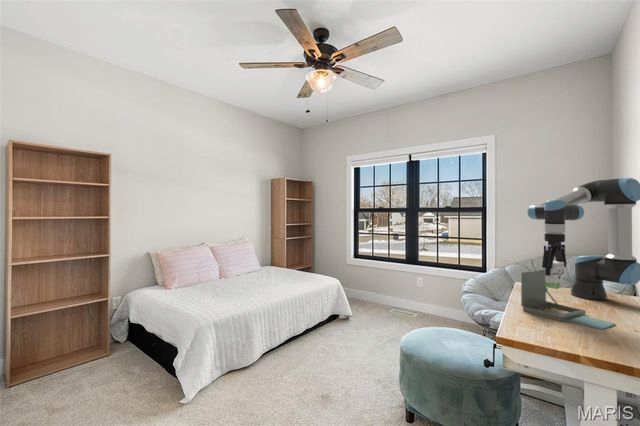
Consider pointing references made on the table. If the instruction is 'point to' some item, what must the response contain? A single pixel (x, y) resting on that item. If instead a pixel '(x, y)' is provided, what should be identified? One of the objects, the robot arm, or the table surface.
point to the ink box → (557, 275)
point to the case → (542, 297)
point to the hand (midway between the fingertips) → (554, 281)
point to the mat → (592, 322)
